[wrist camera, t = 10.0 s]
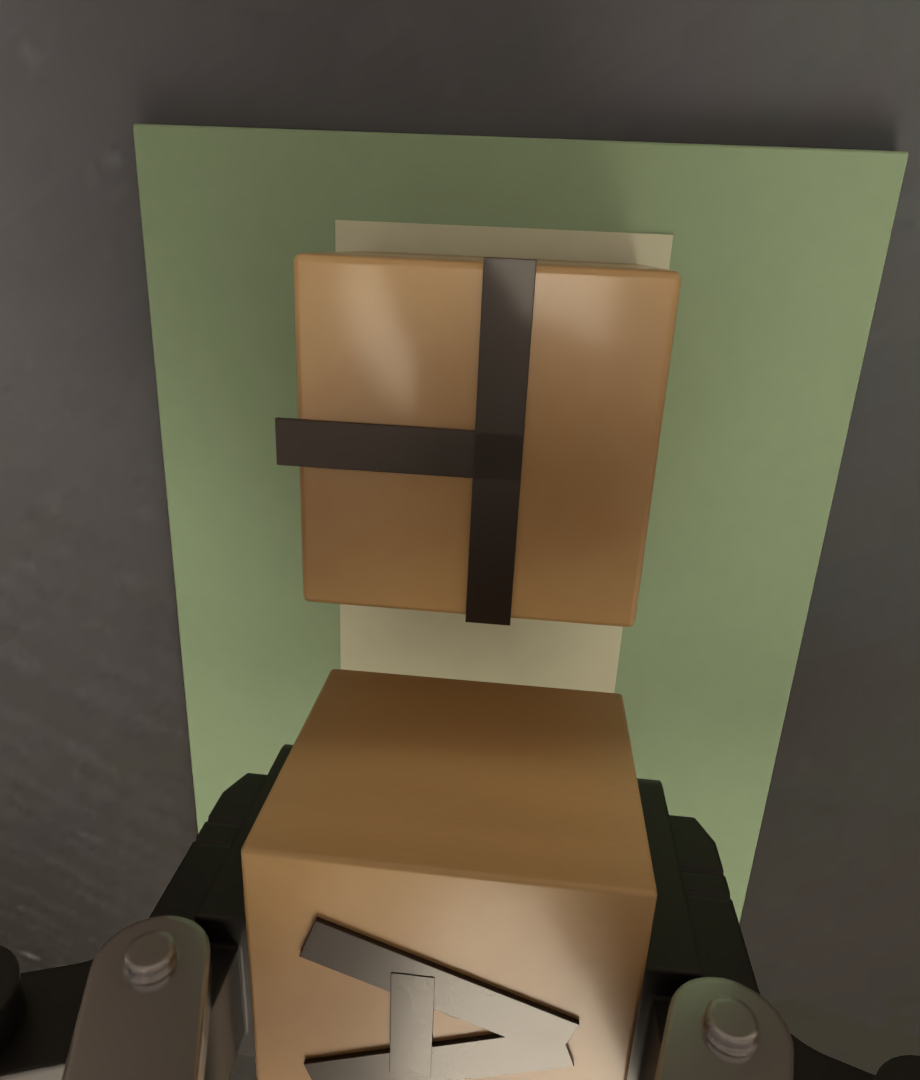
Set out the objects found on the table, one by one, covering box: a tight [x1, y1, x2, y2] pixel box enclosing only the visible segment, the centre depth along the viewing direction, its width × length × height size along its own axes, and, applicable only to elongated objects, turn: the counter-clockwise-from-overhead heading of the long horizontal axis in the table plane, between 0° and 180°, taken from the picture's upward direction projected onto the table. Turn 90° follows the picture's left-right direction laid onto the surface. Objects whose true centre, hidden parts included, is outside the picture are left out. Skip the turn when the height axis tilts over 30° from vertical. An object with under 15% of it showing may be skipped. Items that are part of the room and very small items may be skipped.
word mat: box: [133, 124, 908, 922], centre depth 16 cm, size 20×12×1 cm, turn 178°
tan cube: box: [275, 251, 681, 627], centre depth 12 cm, size 5×5×4 cm
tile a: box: [241, 669, 658, 1080], centre depth 11 cm, size 4×4×4 cm
